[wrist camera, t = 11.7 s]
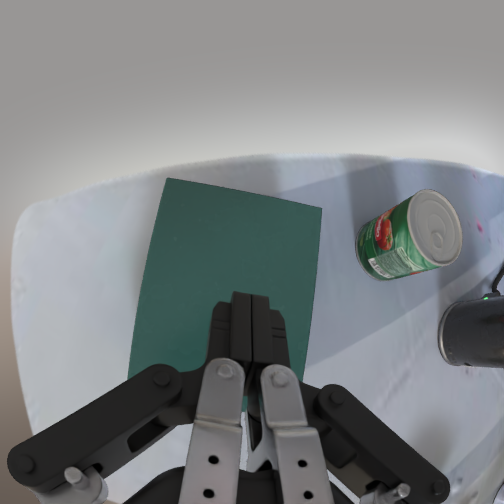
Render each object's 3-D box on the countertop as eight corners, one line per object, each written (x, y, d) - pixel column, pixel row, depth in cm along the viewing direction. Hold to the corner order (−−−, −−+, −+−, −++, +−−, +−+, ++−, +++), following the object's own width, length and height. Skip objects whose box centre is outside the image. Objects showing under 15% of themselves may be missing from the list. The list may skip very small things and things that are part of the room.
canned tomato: (357, 213, 37) (408, 177, 26) (406, 229, 38) (461, 202, 27) (351, 275, 35) (407, 255, 24) (403, 286, 36) (463, 273, 25)
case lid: (167, 181, 24) (166, 176, 23) (318, 211, 25) (322, 207, 24) (128, 390, 20) (125, 392, 19) (294, 412, 21) (296, 415, 20)
